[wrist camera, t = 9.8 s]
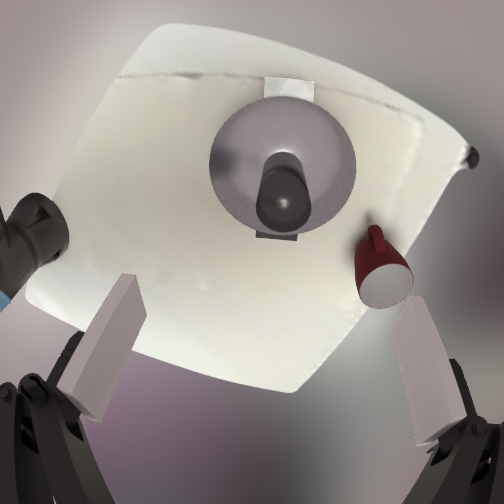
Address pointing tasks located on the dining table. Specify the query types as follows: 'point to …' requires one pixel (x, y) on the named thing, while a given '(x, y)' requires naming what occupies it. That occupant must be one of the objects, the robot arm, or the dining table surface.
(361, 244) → the mug
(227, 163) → the lid
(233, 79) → the dining table surface
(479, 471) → the robot arm
